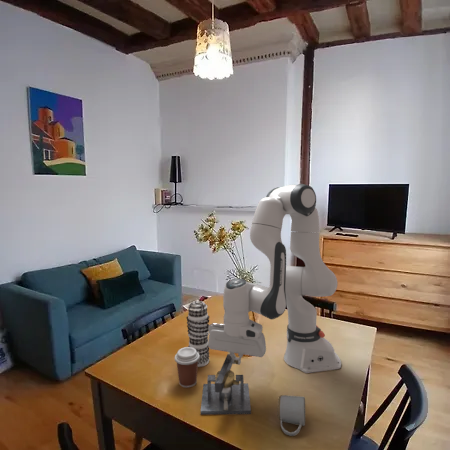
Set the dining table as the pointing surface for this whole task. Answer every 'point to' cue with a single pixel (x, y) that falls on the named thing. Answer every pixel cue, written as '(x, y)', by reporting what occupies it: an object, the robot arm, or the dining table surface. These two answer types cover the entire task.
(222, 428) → the dining table surface
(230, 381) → the grey lintel crossbar
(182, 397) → the dining table surface
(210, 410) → the post base
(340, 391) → the dining table surface
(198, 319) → the grey ridged column
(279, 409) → the ceramic mug
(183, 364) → the coffee cup
